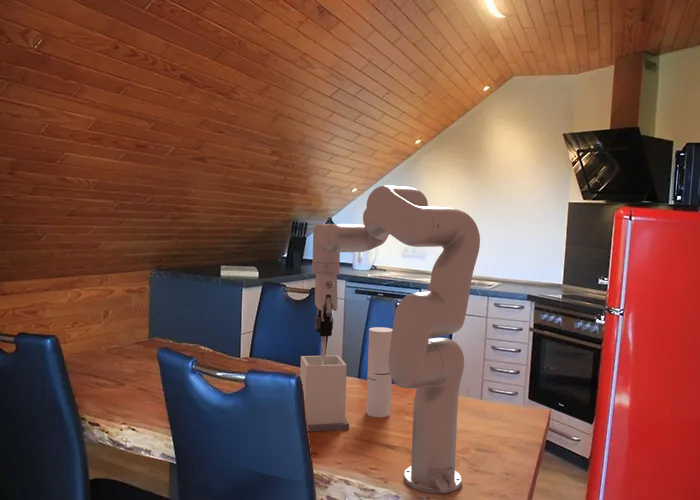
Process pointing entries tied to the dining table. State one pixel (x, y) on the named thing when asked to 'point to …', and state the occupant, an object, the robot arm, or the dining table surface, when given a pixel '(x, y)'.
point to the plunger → (323, 344)
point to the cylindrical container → (379, 373)
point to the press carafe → (324, 392)
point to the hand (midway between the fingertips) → (323, 333)
